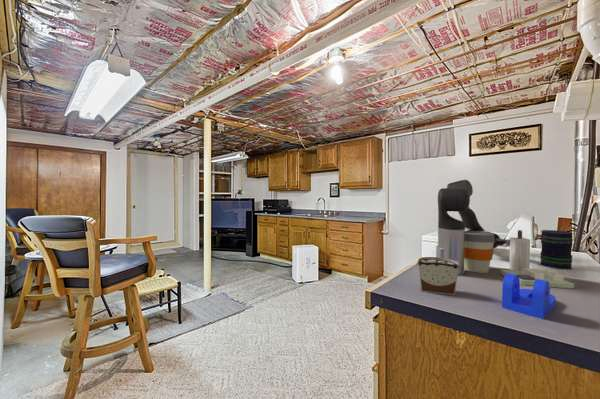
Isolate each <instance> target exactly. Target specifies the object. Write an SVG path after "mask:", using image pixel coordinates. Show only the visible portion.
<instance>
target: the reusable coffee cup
mask: <svg viewBox="0 0 600 399" xmlns="http://www.w3.org/2000/svg"><path fill="white" fill-rule="evenodd" d="M492 233H493V232H491V233H487V232H478V231H467V230H465V251H464V271H469V272H472V273H482V274H483V273H485V274H486V273H489V270H490V266H491V261H492V260H493V256H494V250H495V248H493V243H494V242H495V239H494V234H495V233H494V234H492Z"/></svg>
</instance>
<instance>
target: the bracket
mask: <svg viewBox="0 0 600 399" xmlns="http://www.w3.org/2000/svg"><path fill="white" fill-rule="evenodd" d="M501 290H502V296H501V299H502V300H501V309H505V310H508V311H513V312H516V313H519V314H522V315H525V316H528V317H532V316H533V317H532V318H536V317H537V319H539V318H541V319H540V320H544V319H545V318H546V317H547V315H548V314H549V313H550V312H551V311H552V310H553V309H554V307H556V296H555V295H554V294H551V287H550V285H549V282H548V281H545V280H540V279H536V280H535V282H534V286H532V289H530V288H521V285H520V280H519V276H518V275H515V274H510V273H507V274H506V275H504V277H503V280H502V289H501ZM545 316H546V317H545ZM544 317H545V318H544ZM543 318H544V319H543Z"/></svg>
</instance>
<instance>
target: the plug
mask: <svg viewBox="0 0 600 399" xmlns="http://www.w3.org/2000/svg"><path fill="white" fill-rule="evenodd" d="M509 239H510V247H509V265H508V266H509V268H510V270H511V269H512V270H514V271H523V268H530V260H531V258H530V256H531V255H530V254H531V239H529V238H525V237H523V231H522V230H521V229H519V230H517V237H512V236H511V237H509Z"/></svg>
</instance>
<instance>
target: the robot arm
mask: <svg viewBox="0 0 600 399" xmlns="http://www.w3.org/2000/svg"><path fill="white" fill-rule="evenodd" d="M473 193H474V190H473V185H472V184H471V182H470V180H468V179H461V180H457V181H454V182H450V183H447V186H446V187H443V188H440V189H439V190H438V192H437V210H438V212H437V213H438V215H437V217H438V220H437V222H438V223H437V227H438V228H437V245H436V246H435V247H436V248H435V252H436V253H435V254H436V255H435V257H439V258H446V259H450V260H454V261H457V262H458V263H459V265H460V268H461V270H460V269H458V275H459V276H460V275H463V274H464V275H465V269H464V251H465V231H478V232H487V233H492V234H494V239H495V242H494V243H493V248H494V249H497V248H498V247H502V248H503V247H504V248H508V247H509V248H510V238H509V239H505V238H502V237H500V236H499V235H498V234H497V233H494V232H490V231H488V230H485V229H484V228H483V227H482V225H481V224H480V223H479V221H478V217H477V214H476V213H475V212H474V210H473V209H472V208H470V207H469V206H470V203H471V196H472V195H473ZM448 212H458V214H459V216H460V218H461V219H456V218H455V217H453V216H451V215H449V213H448ZM466 229H467V230H466ZM458 275H457V276H458Z"/></svg>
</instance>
